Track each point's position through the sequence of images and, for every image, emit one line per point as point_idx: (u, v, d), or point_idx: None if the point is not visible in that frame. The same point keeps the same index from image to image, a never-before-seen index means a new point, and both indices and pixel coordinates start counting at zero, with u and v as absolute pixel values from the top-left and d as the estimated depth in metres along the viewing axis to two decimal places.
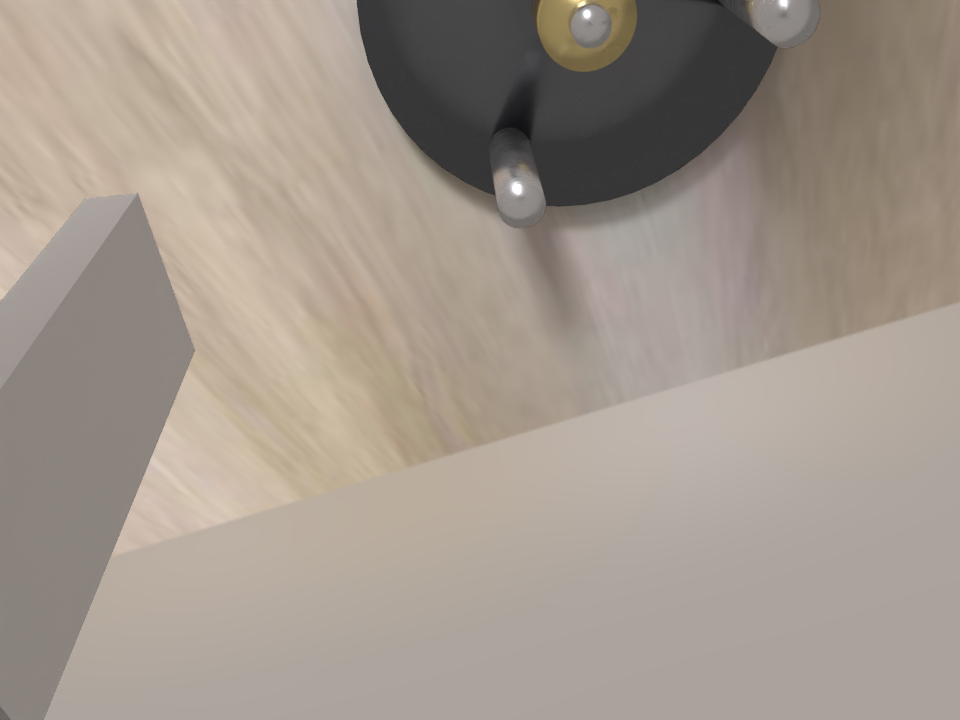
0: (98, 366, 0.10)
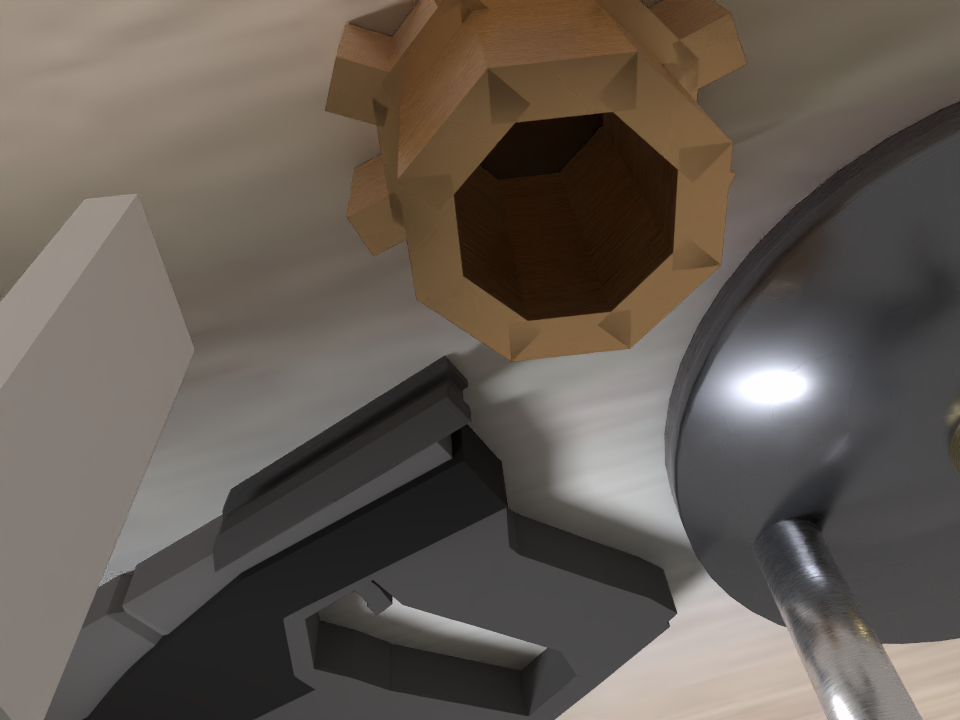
0: (98, 366, 0.10)
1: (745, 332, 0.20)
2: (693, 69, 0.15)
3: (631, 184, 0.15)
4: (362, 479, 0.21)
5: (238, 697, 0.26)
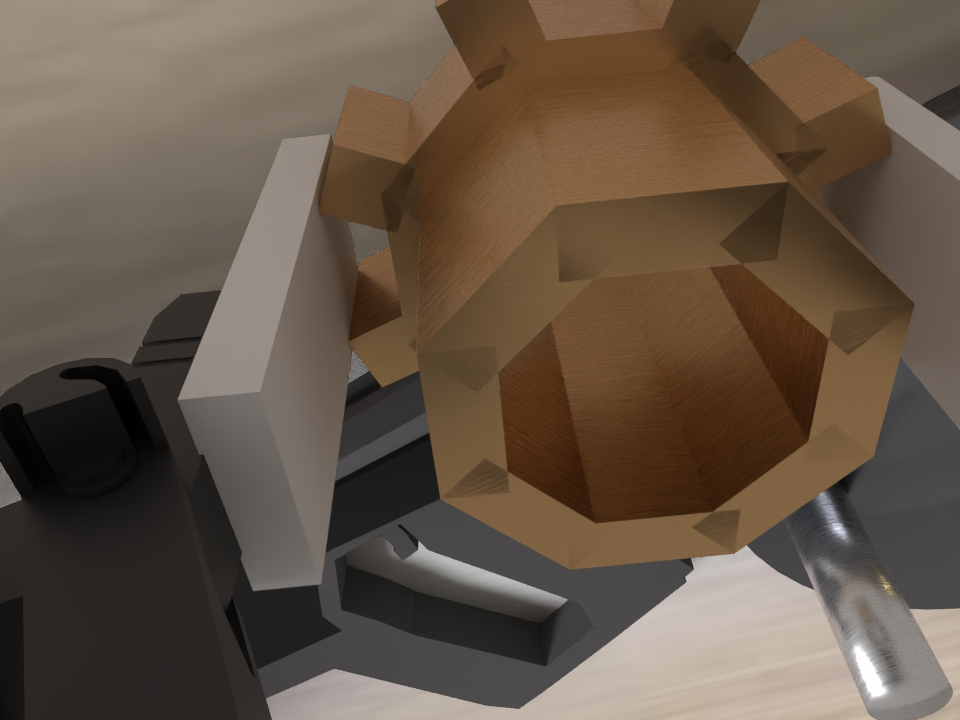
0: (325, 278, 0.11)
1: None
2: (819, 160, 0.11)
3: (728, 310, 0.11)
4: (393, 424, 0.22)
5: (269, 635, 0.28)
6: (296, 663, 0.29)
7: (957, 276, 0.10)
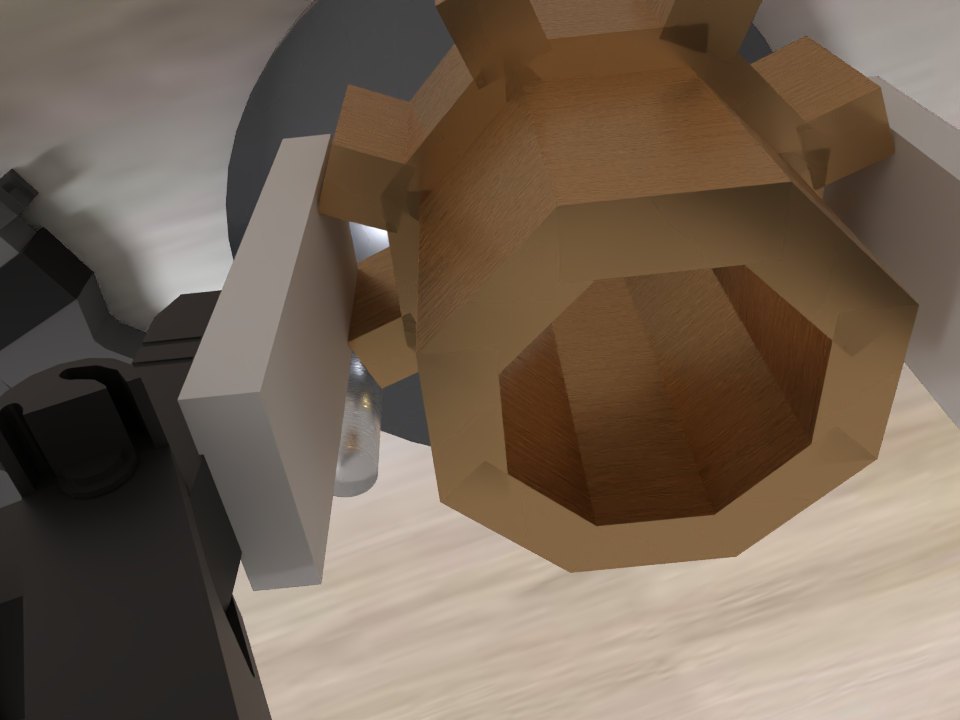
0: (325, 278, 0.11)
1: (244, 143, 0.24)
2: (821, 160, 0.11)
3: (730, 310, 0.11)
4: None
5: None
6: None
7: (957, 276, 0.10)
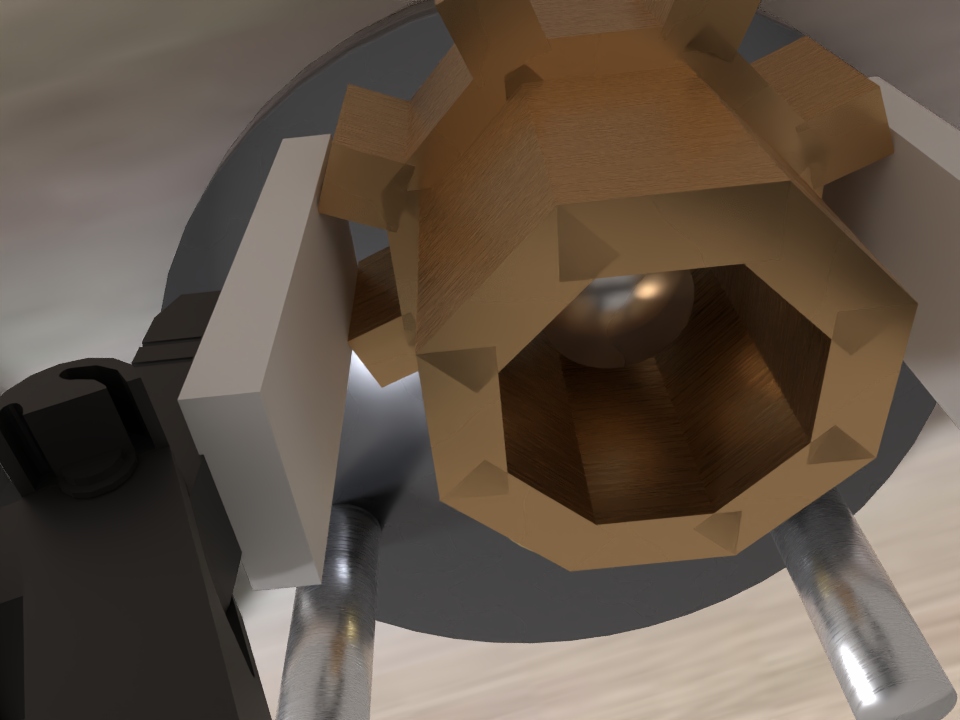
0: (325, 278, 0.11)
1: (179, 290, 0.17)
2: (821, 159, 0.11)
3: (729, 310, 0.11)
4: None
5: None
6: None
7: (957, 276, 0.10)
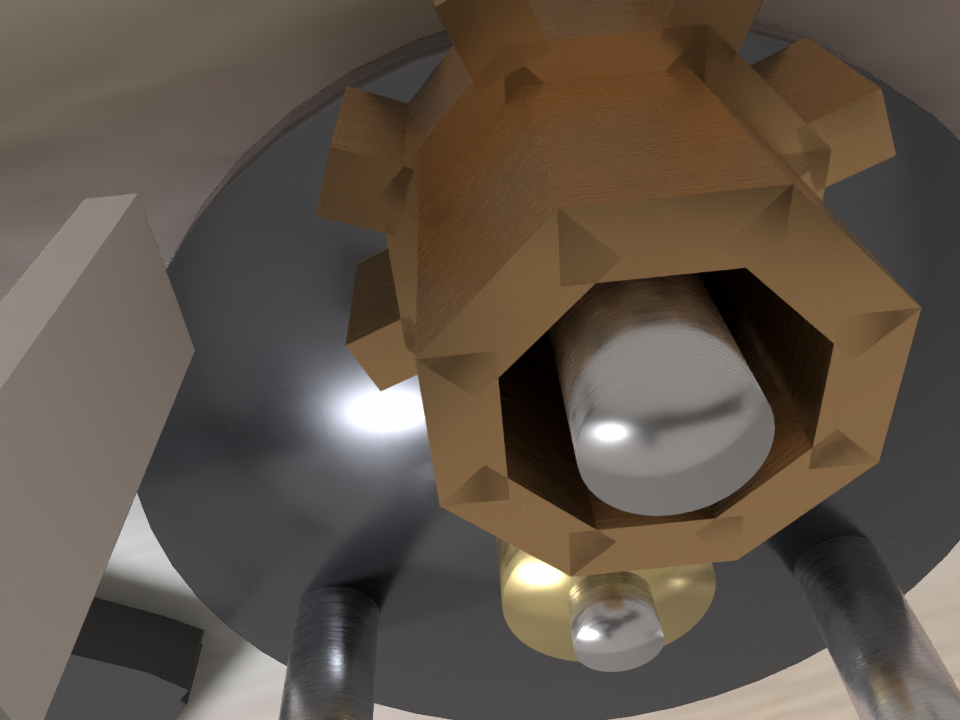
0: (98, 366, 0.10)
1: None
2: (822, 162, 0.11)
3: (730, 313, 0.11)
4: None
5: None
6: None
7: None
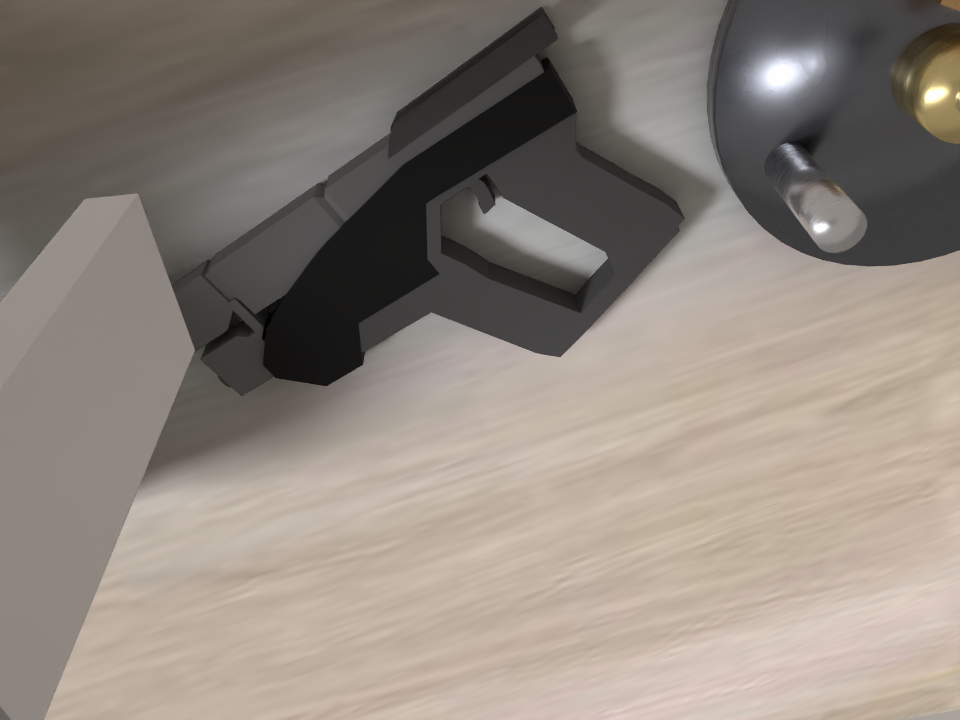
0: (98, 366, 0.10)
1: None
2: None
3: None
4: (487, 83, 0.34)
5: (388, 277, 0.40)
6: (405, 306, 0.41)
7: None
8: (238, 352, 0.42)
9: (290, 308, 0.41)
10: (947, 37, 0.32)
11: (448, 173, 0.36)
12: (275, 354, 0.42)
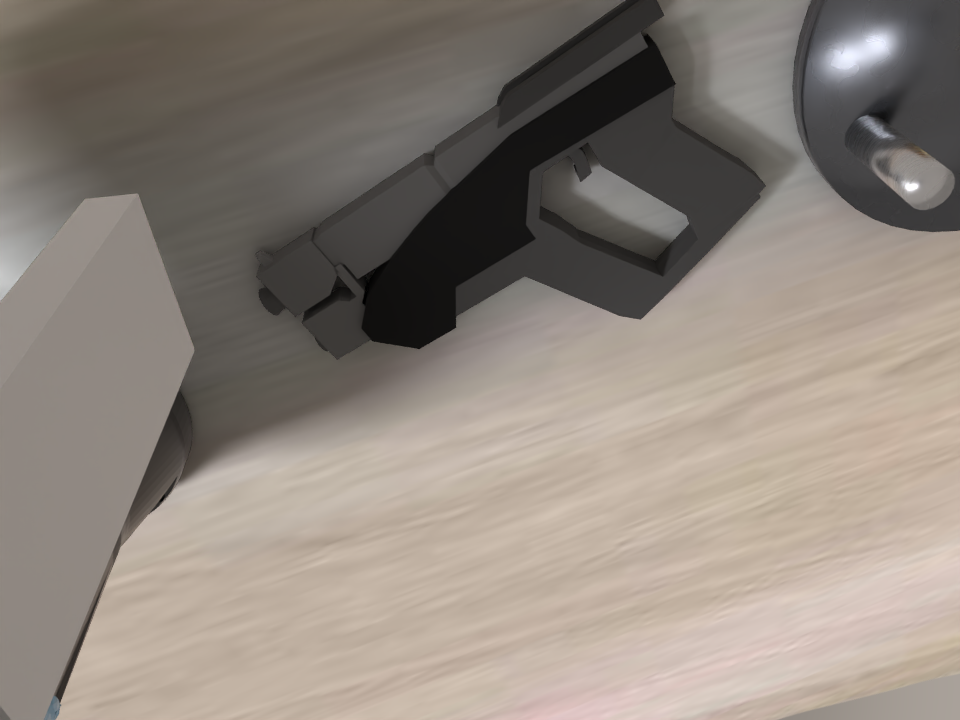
0: (98, 366, 0.10)
1: None
2: None
3: None
4: (596, 57, 0.37)
5: (488, 242, 0.42)
6: (501, 271, 0.43)
7: None
8: (338, 316, 0.45)
9: (393, 272, 0.43)
10: None
11: (552, 142, 0.39)
12: (374, 318, 0.45)
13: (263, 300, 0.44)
